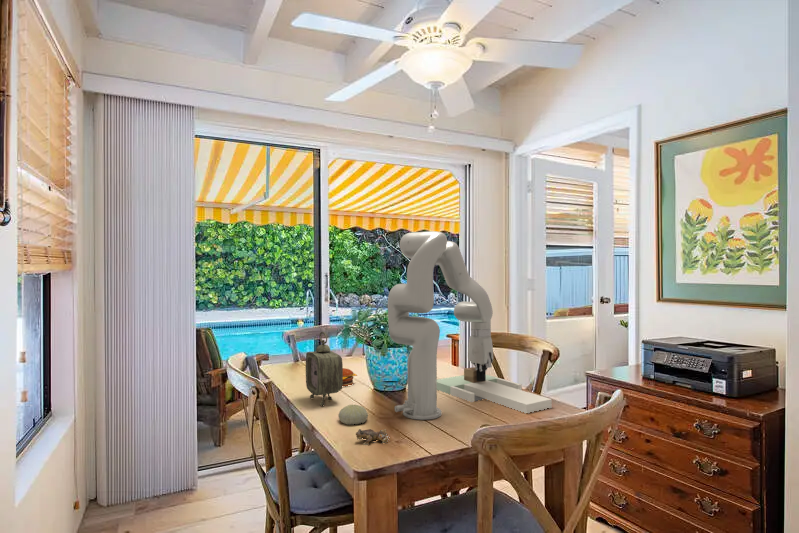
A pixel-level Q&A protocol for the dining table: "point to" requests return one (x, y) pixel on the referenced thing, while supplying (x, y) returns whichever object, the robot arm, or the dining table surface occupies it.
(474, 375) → the walnut block
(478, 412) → the dining table surface
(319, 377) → the tabletop clock
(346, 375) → the hamburger
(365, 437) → the frog figurine
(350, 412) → the sea urchin shell
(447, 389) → the board
